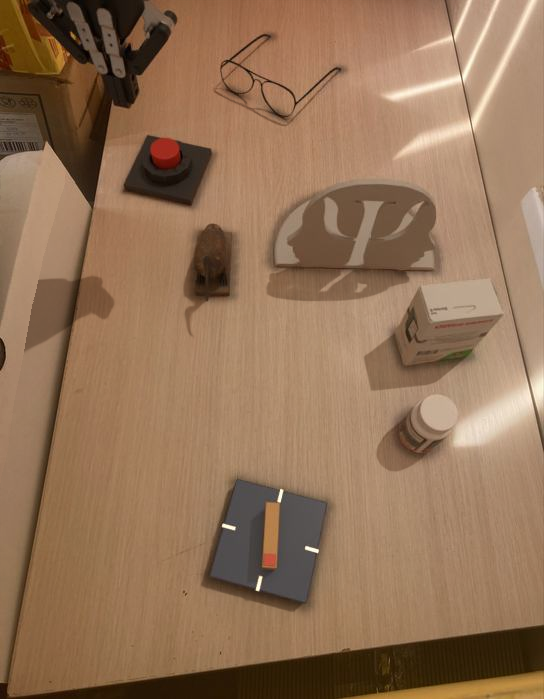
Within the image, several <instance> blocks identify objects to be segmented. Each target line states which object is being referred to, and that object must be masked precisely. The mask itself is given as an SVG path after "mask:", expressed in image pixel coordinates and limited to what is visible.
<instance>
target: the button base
mask: <svg viewBox="0 0 544 699" xmlns="http://www.w3.org/2000/svg"><path fill="white" fill-rule="evenodd" d="M161 138H162V137H159V136H155V135H150V134H147V135H146V137H145V139H144V141H143V143H142V145H141V147H140V149H139V151H138V153H137V156H136V158H135V159H134V161H133V164H132V166H131V168H130V170H129V172H128V174H127V176H126V178H125V180H124V182H123V188H124V191H126V192H130V193H135V194H138V195H143V196H147V197H152V198H156V199H160V200H161V199H162V200H165V201H170V202H175V203H179V204H183V205H189V206H192V205H193V202H194V199H195V197H196V195H197V192H198V190H199V187H200V185H201V182H202V180H203V177H204V175H205V173H206V171H207V168H208V165H209V163H210V161H211V158H212V155H213V153H212V152H213V151H212V148H211V147H205V146H201V145H196V144H190V143H188V142H182V141H181V140H176V139H174V140H175V141H176V142H177V143H178V145H179V150H180V156H181V161H180V163H179V164H178V165H177V166H176V167H175V168H172V169H167V170H164V169H160V168H158V167H156V166H155V165H154V163H153V160H152V156H151V152H150V147H151V145H152V143H153V142H154V141H156V140H158V139H161Z"/></svg>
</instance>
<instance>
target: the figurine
mask: <svg viewBox="0 0 544 699" xmlns="http://www.w3.org/2000/svg"><path fill="white" fill-rule="evenodd" d="M232 237H233V234H232V232H231V231H224V230H223V229H222V227H221V226H220V225H219V224H217V223H209V224H207V225H206V226H205V228H204V229H203V230H199V232H198V241H197V243H196V246H195V249H194V253H193V266H194V270H195V272H196V273H195V274H196V276H195V290H194V292H195V293H194V294H195V295H196V296H205V297H206V302H209V296H230V295H231V269H232V241H233V240H232V239H233V238H232Z"/></svg>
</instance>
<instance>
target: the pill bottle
mask: <svg viewBox="0 0 544 699" xmlns="http://www.w3.org/2000/svg"><path fill="white" fill-rule="evenodd" d="M458 419H459V412H458V408H457V406H456V404H455V402H454V401H453V400H452V399H450V398H449V397H448V396H446V395H443V394H437V393H436V394H435V393H434V394H430V395H428V396H426V397H425V398H423V399H420V400H419V401H417V402H416V403H415V404H414V405H413V406H412V408H411V409H410V410H409V411H408V412H407V414H406V415H405V416H404V417H403V418H402V420H401V422H400V424H399V427H398V437H399V439H400V442H401V443H402V444H403V446H404V447H405V448H407V449H408V450H409V451H412V452H413V453H419V454H423V453H427V452H430V451H431V450H433V449H434V448H435V447H437V446H438V445H439V444H440V443H441V442H443V441H444V440H445V439H446V438H448V437H449V436H450V434H451V433H452V431H453V430H454V427H455V425H456V424H457V422H458Z"/></svg>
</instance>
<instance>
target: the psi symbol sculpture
mask: <svg viewBox="0 0 544 699" xmlns="http://www.w3.org/2000/svg"><path fill="white" fill-rule="evenodd" d="M418 204H421V205H420V206H419V207H418V208H417V211H416V213H415V215H414V217H413V216H412V215H411V214H410V213H409V211H411V209H412V208H414V207H415V206H416V205H418ZM436 221H437V208H436V202H435V200H434V198H433V196H432V195H431V194H430V193H429V192H428V190H426V189H425V188H423V187H422V186H420V185H418V184H415V183H412V182H409V181H405V180H400V179H392V178H391V179H389V178H357V179H350V180H346V181H341V182H338V183H335V184H332V185H329V186H328V187H326V188H325V189H323V190H322V191H320V192H318V193H317V194H316V195H314V196H313V197H312V198H310V199H308V200H307V201H305V202H304V203H302V204H300V205H299V206H297V207H296V208H295V209H294V210H293V211H292V212H290V213H289V215H288V216H287V217H286V218H285V219H284V221H283V222H282V224H281V226H280V228H279V229H278V231H277V235H276V237H275V241H274V247H273V263H274V267H289V268H291V267H292V268H293V267H295V268H297V267H298V268H326V269H327V268H331V269H366V270H368V269H370V270H396V271H409V270H410V271H411V270H412V271H434V270H435V257H434V250H435V248H436V243H435V241H434V239H433V238H432V236H431V234H430V232H431V231H432V230H433V229H434V228H435V225H436V223H437V222H436Z"/></svg>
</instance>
